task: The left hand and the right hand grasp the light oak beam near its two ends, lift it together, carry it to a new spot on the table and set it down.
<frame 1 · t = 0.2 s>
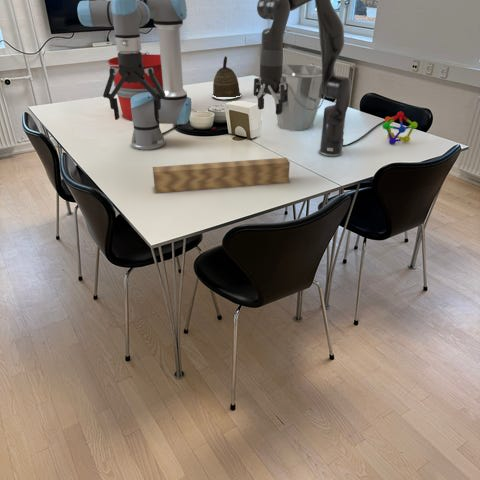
left hand: (137, 119, 150), 27 cm above the table, tool pointing down, fingers open, 13 cm apart
right hand: (269, 111, 156), 28 cm above the table, tool pointing down, fingers open, 8 cm apart
educational toy: (395, 143, 211), on the table
beam: (222, 184, 170), on the table
bucket: (295, 125, 233), on the table
bucket 2: (145, 114, 248), on the table
bell: (226, 97, 281), on the table
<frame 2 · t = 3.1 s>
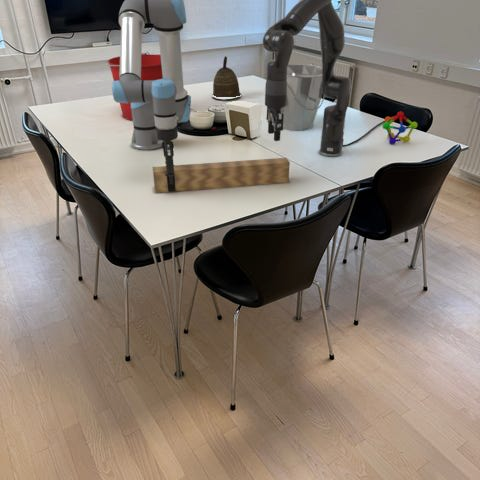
left hand: (171, 187, 166), 1 cm above the table, tool pointing down, fingers closed on beam, 5 cm apart
right hand: (273, 136, 164), 18 cm above the table, tool pointing down, fingers open, 8 cm apart
beam: (222, 184, 170), on the table, touching left hand
everything else where it was.
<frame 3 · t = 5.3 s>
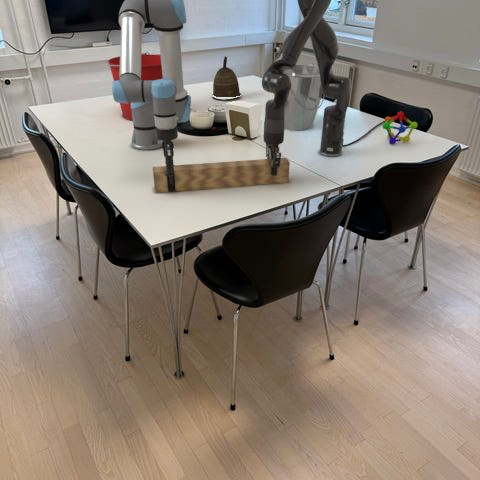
left hand: (171, 187, 166), 1 cm above the table, tool pointing down, fingers closed on beam, 5 cm apart
right hand: (272, 172, 171), 4 cm above the table, tool pointing down, fingers closed on beam, 5 cm apart
beam: (222, 184, 170), on the table, touching left hand, right hand
everything else where it was.
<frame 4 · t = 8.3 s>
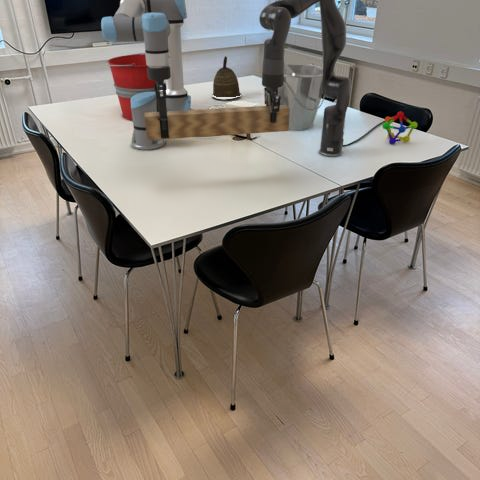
left hand: (164, 134, 157), 20 cm above the table, tool pointing down, fingers closed on beam, 5 cm apart
right hand: (271, 119, 162), 24 cm above the table, tool pointing down, fingers closed on beam, 5 cm apart
beam: (218, 133, 161), point 20 cm above the table, touching left hand, right hand
everything else where it was.
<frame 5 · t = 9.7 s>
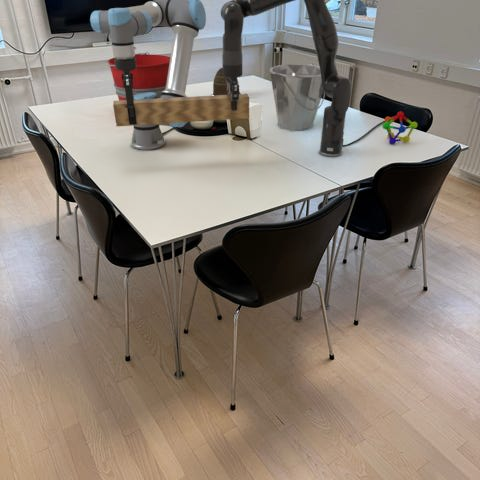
left hand: (133, 121, 170), 21 cm above the table, tool pointing down, fingers closed on beam, 5 cm apart
right hand: (232, 107, 174), 24 cm above the table, tool pointing down, fingers closed on beam, 5 cm apart
beam: (183, 120, 173), point 20 cm above the table, touching left hand, right hand
everything else where it was.
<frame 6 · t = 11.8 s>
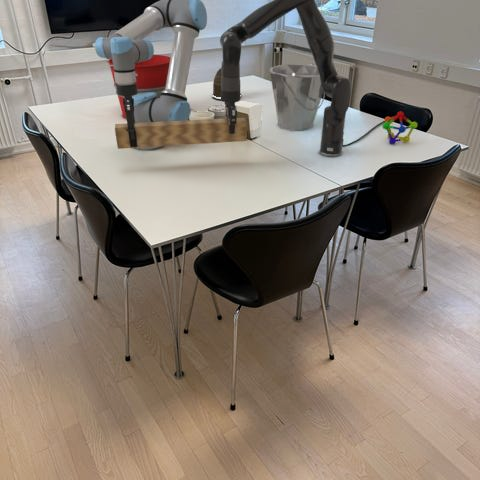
left hand: (133, 144, 175), 11 cm above the table, tool pointing down, fingers closed on beam, 5 cm apart
right hand: (230, 131, 180), 14 cm above the table, tool pointing down, fingers closed on beam, 5 cm apart
beam: (183, 142, 178), point 11 cm above the table, touching left hand, right hand
everything else where it was.
when the left hand's fingers open (2 cm above the table, at t = 13.8 s): beam drops 1 cm, on the table.
when the right hand's fingers open (5 cm above the table, at t = 14.0 s): beam stays where it is, on the table.
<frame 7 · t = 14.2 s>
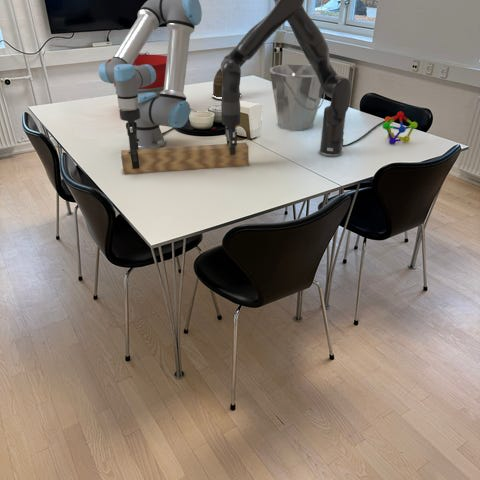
left hand: (136, 162, 179), 3 cm above the table, tool pointing down, fingers open, 11 cm apart
right hand: (231, 151, 184), 6 cm above the table, tool pointing down, fingers open, 6 cm apart
beam: (186, 167, 184), on the table
everything else where it was.
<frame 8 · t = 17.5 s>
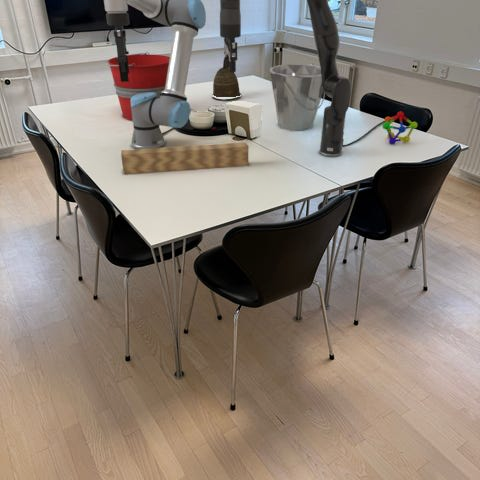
left hand: (125, 77, 162), 37 cm above the table, tool pointing down, fingers open, 13 cm apart
right hand: (230, 69, 167), 38 cm above the table, tool pointing down, fingers open, 8 cm apart
nothing on the table moved.
at the end: beam inside the target area (0.9 cm from its centre), on the table; beam tilted 0°; beam never tilted more than 2° during the clip; both hands held the beam at the same time; the left hand is holding nothing; the right hand is holding nothing; beam at rest at the end (0.0 cm/s) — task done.
